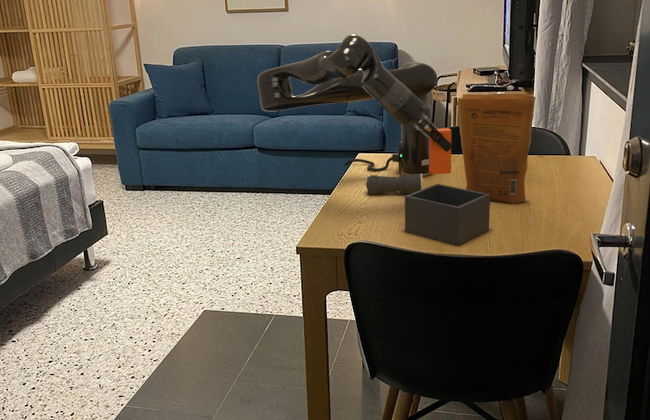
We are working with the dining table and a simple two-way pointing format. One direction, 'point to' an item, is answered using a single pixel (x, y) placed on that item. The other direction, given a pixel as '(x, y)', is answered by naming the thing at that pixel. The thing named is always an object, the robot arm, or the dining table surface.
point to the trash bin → (447, 213)
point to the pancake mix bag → (496, 143)
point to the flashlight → (394, 184)
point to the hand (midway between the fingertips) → (448, 147)
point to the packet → (439, 155)
